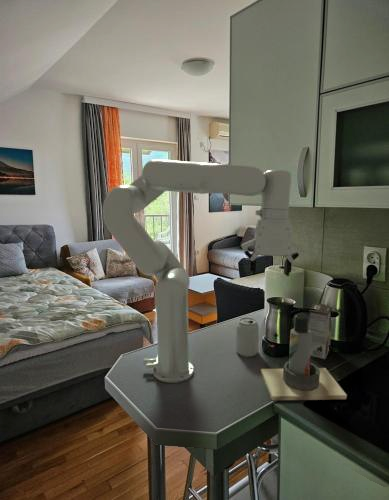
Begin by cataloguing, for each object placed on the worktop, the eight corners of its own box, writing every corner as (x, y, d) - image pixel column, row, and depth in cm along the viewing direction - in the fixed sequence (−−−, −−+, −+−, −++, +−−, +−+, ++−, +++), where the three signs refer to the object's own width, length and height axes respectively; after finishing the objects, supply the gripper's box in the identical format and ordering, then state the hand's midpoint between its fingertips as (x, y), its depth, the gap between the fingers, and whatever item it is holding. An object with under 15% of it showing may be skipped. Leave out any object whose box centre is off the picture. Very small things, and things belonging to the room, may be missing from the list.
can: (257, 359, 110) (258, 325, 108) (235, 356, 111) (235, 323, 109) (258, 348, 117) (258, 316, 115) (236, 347, 119) (237, 315, 117)
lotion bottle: (310, 379, 96) (314, 313, 92) (306, 388, 91) (310, 320, 87) (291, 373, 98) (294, 310, 95) (285, 383, 94) (288, 316, 90)
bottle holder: (272, 400, 88) (272, 382, 87) (260, 372, 101) (261, 356, 101) (346, 399, 88) (347, 381, 87) (325, 371, 102) (326, 355, 101)
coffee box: (311, 344, 120) (313, 302, 118) (330, 348, 117) (333, 305, 114) (305, 355, 112) (308, 309, 110) (325, 359, 109) (328, 313, 107)
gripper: (245, 214, 89) (241, 276, 92) (309, 217, 89) (303, 278, 92) (241, 213, 96) (238, 270, 99) (300, 215, 96) (295, 272, 99)
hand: (269, 274), depth 95 cm, fingers open, 9 cm apart
